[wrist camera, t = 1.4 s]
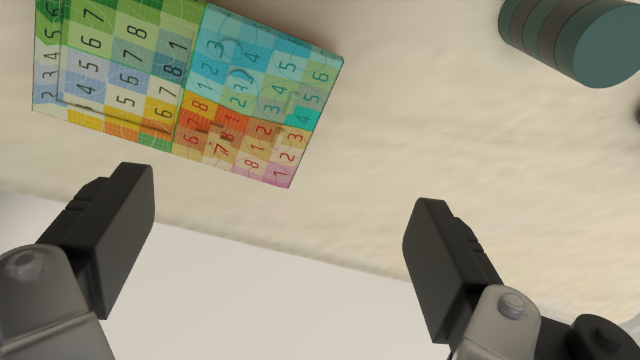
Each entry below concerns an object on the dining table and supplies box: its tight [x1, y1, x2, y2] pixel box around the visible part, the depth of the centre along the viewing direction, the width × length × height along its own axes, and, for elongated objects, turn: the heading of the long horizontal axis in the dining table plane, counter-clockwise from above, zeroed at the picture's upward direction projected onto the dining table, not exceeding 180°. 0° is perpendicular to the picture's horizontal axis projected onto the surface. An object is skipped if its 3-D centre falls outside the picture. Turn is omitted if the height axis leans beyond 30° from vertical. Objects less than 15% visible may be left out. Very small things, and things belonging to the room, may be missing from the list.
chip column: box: [498, 0, 640, 88], centre depth 27 cm, size 5×5×10 cm
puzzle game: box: [32, 0, 344, 188], centre depth 30 cm, size 12×5×20 cm
